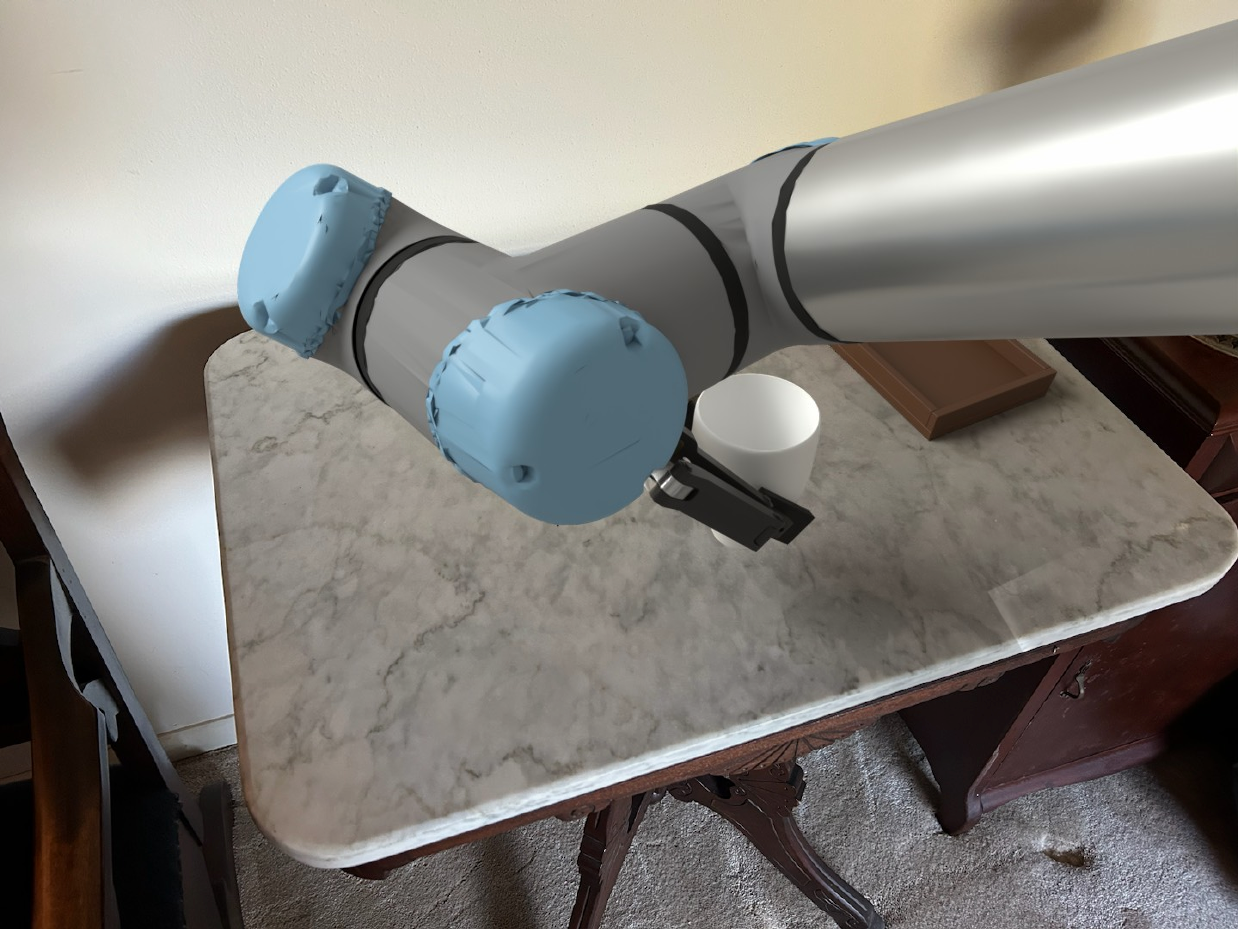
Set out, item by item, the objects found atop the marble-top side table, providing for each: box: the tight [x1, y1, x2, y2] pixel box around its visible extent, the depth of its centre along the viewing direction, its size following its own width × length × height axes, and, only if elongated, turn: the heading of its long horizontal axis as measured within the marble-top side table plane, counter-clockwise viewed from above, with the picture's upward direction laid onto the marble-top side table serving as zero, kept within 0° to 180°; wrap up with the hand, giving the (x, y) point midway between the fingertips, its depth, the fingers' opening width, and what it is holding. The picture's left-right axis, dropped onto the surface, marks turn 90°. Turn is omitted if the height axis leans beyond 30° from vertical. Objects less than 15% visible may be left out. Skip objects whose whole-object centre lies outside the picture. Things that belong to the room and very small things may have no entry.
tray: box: [828, 339, 1058, 441], centre depth 84 cm, size 18×15×3 cm
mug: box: [644, 373, 822, 551], centre depth 59 cm, size 12×8×11 cm
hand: (762, 483), depth 61 cm, fingers closed on mug, 8 cm apart
